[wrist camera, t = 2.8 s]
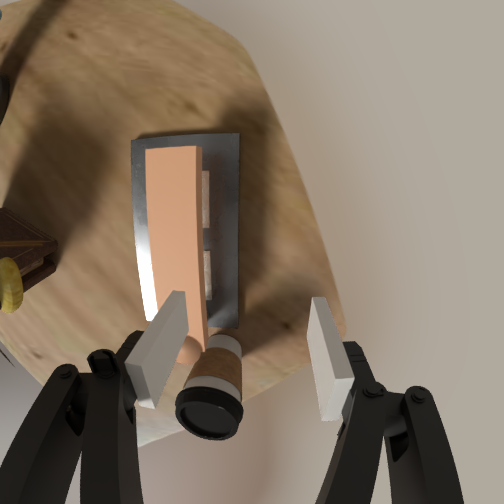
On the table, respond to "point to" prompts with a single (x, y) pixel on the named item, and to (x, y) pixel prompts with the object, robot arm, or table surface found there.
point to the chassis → (214, 221)
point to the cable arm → (178, 236)
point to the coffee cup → (213, 391)
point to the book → (21, 258)
